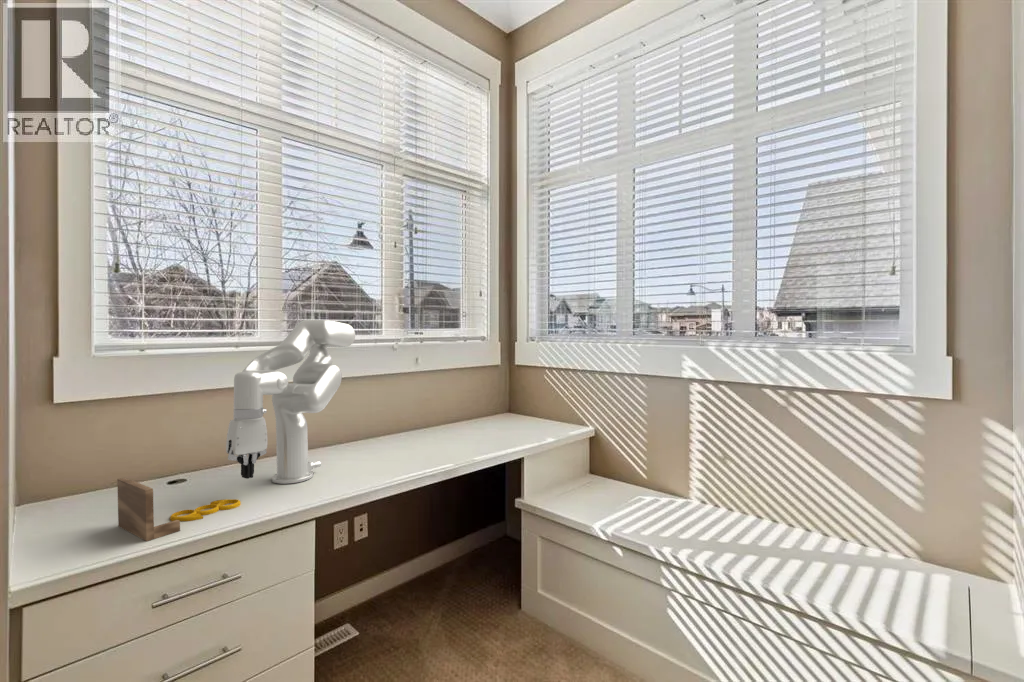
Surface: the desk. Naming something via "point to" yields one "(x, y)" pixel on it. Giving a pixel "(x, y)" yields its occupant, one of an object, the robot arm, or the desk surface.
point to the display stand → (140, 511)
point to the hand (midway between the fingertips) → (247, 477)
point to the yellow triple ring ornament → (198, 513)
